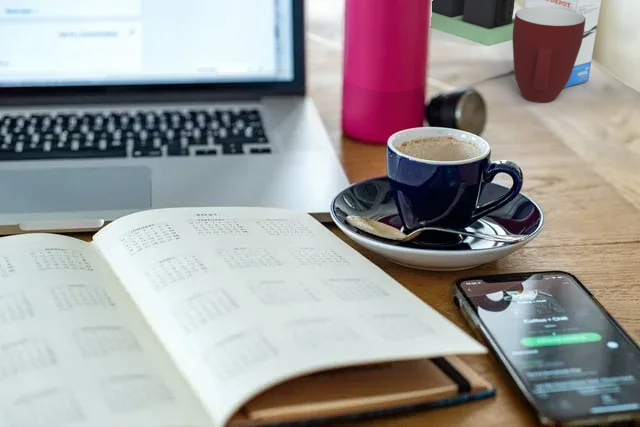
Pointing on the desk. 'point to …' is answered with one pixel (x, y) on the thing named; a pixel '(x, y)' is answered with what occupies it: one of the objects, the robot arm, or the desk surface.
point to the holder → (472, 29)
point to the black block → (448, 7)
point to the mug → (545, 50)
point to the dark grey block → (480, 12)
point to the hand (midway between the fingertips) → (487, 18)
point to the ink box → (587, 5)
